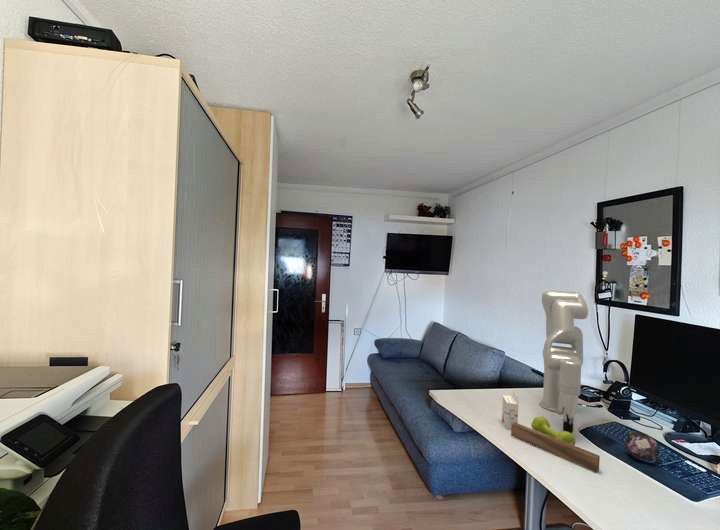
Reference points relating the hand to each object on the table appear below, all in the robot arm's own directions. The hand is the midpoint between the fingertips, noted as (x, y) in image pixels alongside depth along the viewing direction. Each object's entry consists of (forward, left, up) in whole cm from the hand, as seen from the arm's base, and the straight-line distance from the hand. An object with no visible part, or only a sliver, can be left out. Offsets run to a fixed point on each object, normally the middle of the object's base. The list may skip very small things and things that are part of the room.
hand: (567, 431), depth 137 cm
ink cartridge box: (+11, -20, -2) cm, 23 cm away
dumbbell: (+11, -2, -2) cm, 11 cm away
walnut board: (+19, 0, -2) cm, 19 cm away
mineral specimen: (-5, +23, -2) cm, 24 cm away
